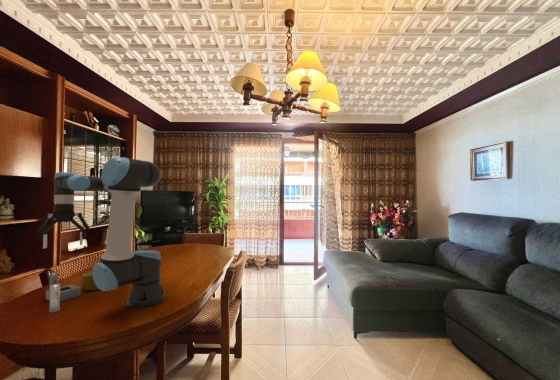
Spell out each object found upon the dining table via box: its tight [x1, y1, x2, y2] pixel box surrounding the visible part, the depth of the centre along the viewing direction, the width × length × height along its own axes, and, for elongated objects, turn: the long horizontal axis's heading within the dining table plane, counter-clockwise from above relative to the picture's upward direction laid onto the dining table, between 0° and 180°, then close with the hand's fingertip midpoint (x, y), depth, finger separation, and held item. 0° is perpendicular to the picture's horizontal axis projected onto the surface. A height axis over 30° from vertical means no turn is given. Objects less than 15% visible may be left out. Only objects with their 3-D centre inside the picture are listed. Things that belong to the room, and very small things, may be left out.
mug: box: [81, 272, 100, 292], centre depth 130 cm, size 12×10×10 cm
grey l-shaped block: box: [45, 271, 82, 303], centre depth 120 cm, size 18×10×10 cm, turn 60°
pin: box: [49, 283, 61, 313], centre depth 104 cm, size 3×3×11 cm
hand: (63, 246), depth 120 cm, fingers open, 13 cm apart
